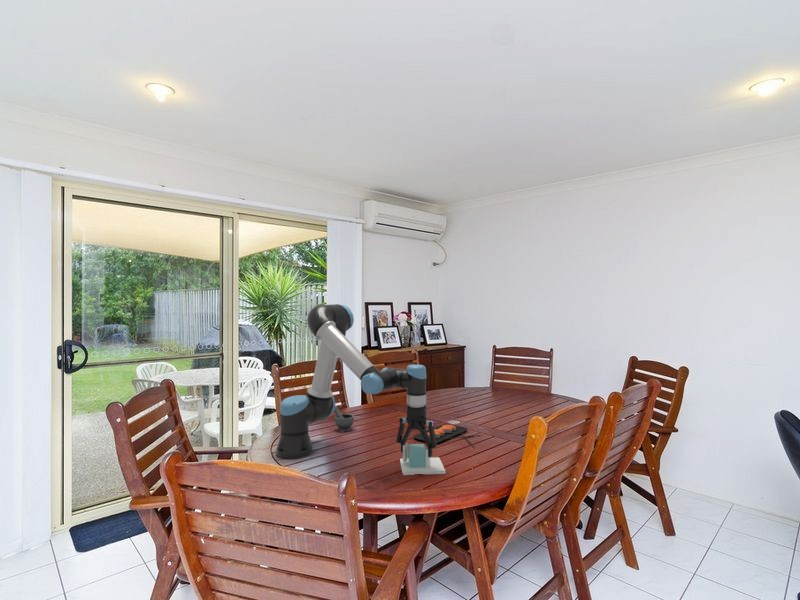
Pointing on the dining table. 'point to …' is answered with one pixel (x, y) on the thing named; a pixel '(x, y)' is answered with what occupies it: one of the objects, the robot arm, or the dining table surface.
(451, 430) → the sushi plate
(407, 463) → the stud board
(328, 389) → the robot arm
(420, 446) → the cap
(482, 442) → the dining table surface
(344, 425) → the mortar and pestle
